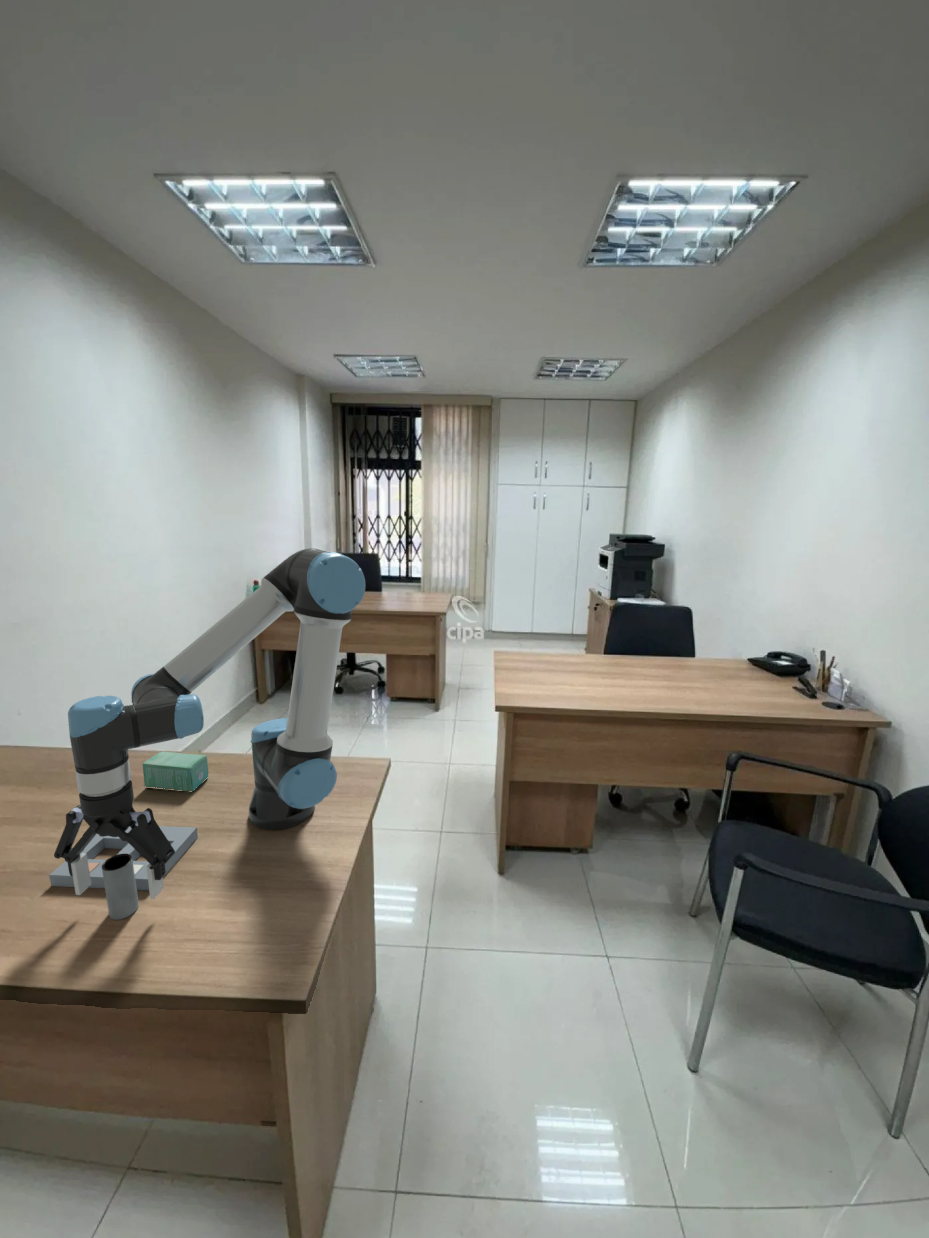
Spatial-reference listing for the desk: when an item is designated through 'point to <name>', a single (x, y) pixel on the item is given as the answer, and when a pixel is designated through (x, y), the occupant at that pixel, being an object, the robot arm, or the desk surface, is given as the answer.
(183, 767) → the box
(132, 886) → the grey hollow cylinder
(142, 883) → the socket board
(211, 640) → the robot arm
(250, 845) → the desk surface
